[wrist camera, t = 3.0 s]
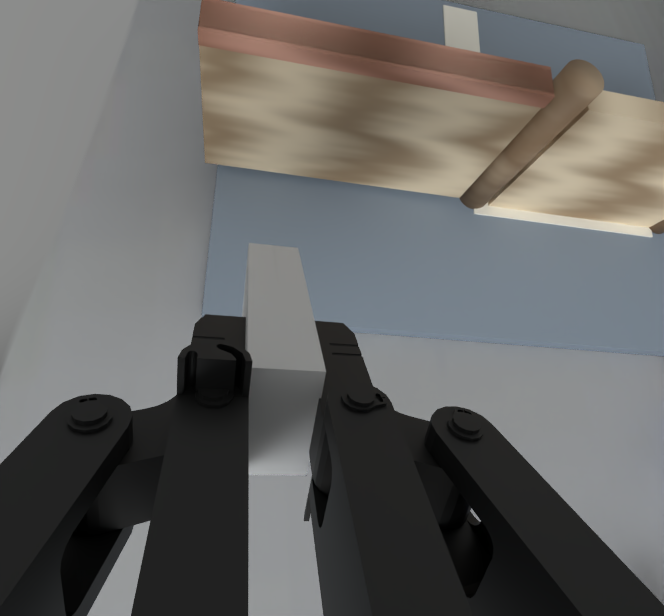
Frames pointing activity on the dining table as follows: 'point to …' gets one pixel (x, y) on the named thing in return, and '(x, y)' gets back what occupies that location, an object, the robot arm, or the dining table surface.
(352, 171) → the fence panel
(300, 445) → the robot arm
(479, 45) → the board
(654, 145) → the fence fixed section
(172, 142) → the dining table surface
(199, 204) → the dining table surface
